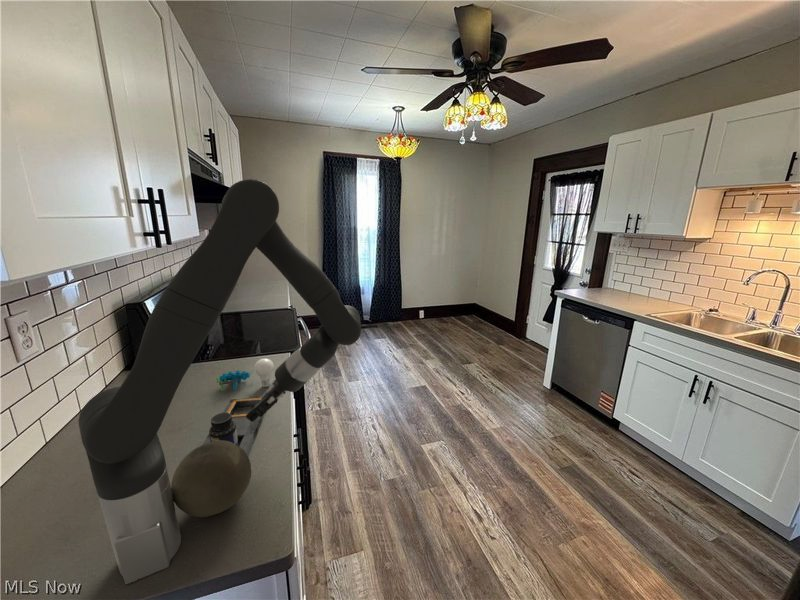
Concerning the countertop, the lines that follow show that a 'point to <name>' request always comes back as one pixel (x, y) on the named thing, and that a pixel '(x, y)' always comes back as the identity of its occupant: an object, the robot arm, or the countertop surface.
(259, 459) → the countertop surface
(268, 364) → the lightbulb
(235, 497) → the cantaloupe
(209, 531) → the countertop surface
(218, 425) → the pill bottle
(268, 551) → the countertop surface
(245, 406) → the grey rectangular tray
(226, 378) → the blue branched piece
